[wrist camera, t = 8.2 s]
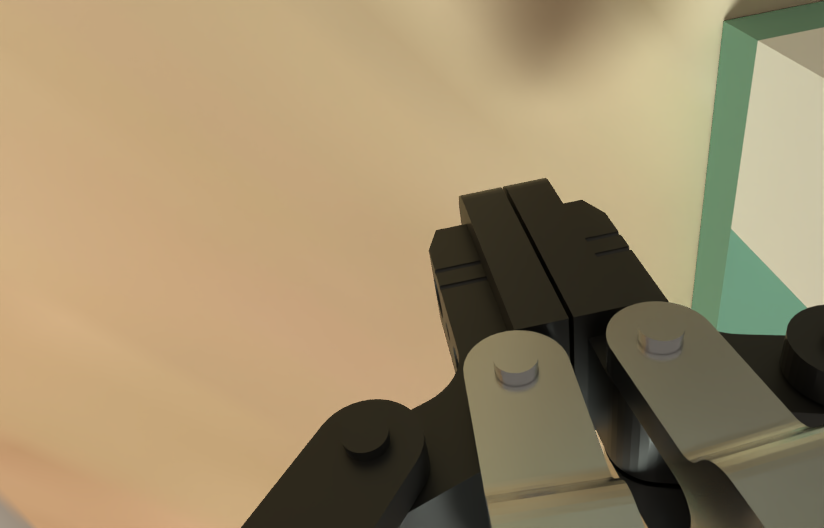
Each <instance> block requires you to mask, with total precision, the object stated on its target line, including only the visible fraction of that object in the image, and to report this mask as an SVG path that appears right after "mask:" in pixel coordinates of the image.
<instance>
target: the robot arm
mask: <svg viewBox="0 0 824 528" xmlns="http://www.w3.org/2000/svg"><path fill="white" fill-rule="evenodd" d="M459 208H460V216H461V223H462V225H459V226H455V227H450V228H445V229H440V230H436V232H435V235H434V238H433V240H432V243H431V246H430V249H429V253H430V259H431V265H432V271H433V277H434V283H435V289H436V295H437V300H438V306H439V312H440V318H441V322H442V325H443V329H444V333H445V336H446V339H447V344H448V347H449V351H450V354H451V357H452V362H453V365H454V369H455V373H456V374H455V376H454V378H453V379H452V381H451V382H450V383H449V385H448V386H447V387H446V388H445V389H444V390H443V391H442V392H441V393H439V394H438V395H437V396H436V397H434V398H432V399H431V400H429V401H427V402H425V403H423V404H422V405H420V406H418V407H416V408H414V409H412V410H410V409H409V408H407V407H406V406H404V405H402V404H399V403H397V402H393V401H389V400H381V399H375V400H366V401H360V402H357V403H354V404H351V405H349V406H347V407H344V408H343V409H341V410H339V411H338V412H336V413H335V414H333V415H332V416H331V417H330V418H329V419H328V420H327V421H326V422H325V423H324V424H323V425H322V426H321V427H320V429H319V430H318V431H317V433H316V434H315V435H314V436H313V438H312V439H311V440H310V441H309V443H308V444H307V445H306V446H305V448H304V449H303V450H302V451H301V453H300V454H299V455H298V456H297V458H296V459H295V460H294V461H293V463H292V464H291V465H290V467H289V468H288V469H287V470H286V472H285V473H284V474H283V475H282V477H281V478H280V479H279V480H278V482H277V483H276V484H275V485H274V487H273V488H272V489H271V490H270V492H269V493H268V494H267V496H266V497H265V498H264V499H263V501H262V502H261V503H260V504H259V506H258V507H257V508H256V509H255V511H254V512H253V513H252V514H251V516H250V517H249V518H248V519H247V521H246V522H245V523H244V525H243V526H242V527H241V528H824V305H817V306H813V307H809V308H807V309H804V310H802V311H800V312H799V313H797V314H796V315H794V317H793V318H792V319H791V320H790V322H789V324H788V326H787V330H786V335H752V334H731V333H724V332H718V331H717V330H716V328H715V327H714V326H713V325H712V324H711V323H710V322H709V321H708V320H707V319H706V318H705V317H704V316H702V315H701V314H699V313H698V312H696V311H694V310H692V309H690V308H688V307H685V306H682V305H679V304H675V303H670V302H668V300H667V299H666V297H665V296H664V295H663V293H662V292H661V290H660V289H659V288H658V286H657V285H656V283H655V282H654V281H653V279H652V278H651V276H650V275H649V274H648V272H647V271H646V269H645V268H644V267H643V265H642V264H641V262H640V261H639V260H638V258H637V257H636V255H635V254H634V253H633V251H632V250H629V246H628V244H627V243H626V241H625V240H624V239H623V237H622V236H621V235H619V234H618V230H617V229H616V227H615V226H614V225H613V223H612V222H611V221H610V219H609V218H608V216H607V215H606V214H605V213H604V212H602V211H601V210H599V209H597V208H595V207H594V206H592V205H590V204H588V203H587V202H585V201H583V200H579V201H574V202H569V203H564V204H563V203H562V201H561V200H560V198H559V196H558V195H557V193H556V192H555V190H554V189H553V187H552V185H551V184H550V182H549V181H548V180H547V179H546V178H543V179H538V180H533V181H528V182H524V183H519V184H514V185H509V186H504V187H503V189H502V188H501V187H500V188H495V189H491V190H486V191H481V192H476V193H471V194H466V195H462V196H459ZM595 430H597V432H598V435H599V437H600V439H601V441H602V443H603V445H604V454H603V451H602V448H601V446H600V443H599V440H598V437H597V435H596V432H595Z"/></svg>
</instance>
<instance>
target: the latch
mask: <svg viewBox="0 0 824 528" xmlns="http://www.w3.org/2000/svg"><path fill="white" fill-rule="evenodd" d="M731 229H732V230H733V231H734V232H735V233H736V234H737V235H738V236H739V237H740V238H741V239H742V241H743V242H744V243H745V244H746V245H747V246H748V247H749V248H750V249H751V250H752V251H753V252H754V253H755V254H756V255H757V256H758V257H759V258H760V259H761V260H762V261H763V262H764V263H765V264H766V265H767V267H768V268H769V269H770V270H771V271H772V272H773V273H774V274H775V275H776V276H777V277H778V278H779V279H780V280H781V281H782V282H783V283H784V284H785V285H786V286H787V287H788V288H789V289H790V290H791V291H792V293H793V294H794V295H795V296H796V297H797V298H798V299H799V300H800V301H801V302H802V303H803V304H804V305H805V306H806V307H807V308H809V307H813V306H817V305H824V27H823V28H818V29H813V30H808V31H803V32H798V33H793V34H788V35H783V36H778V37H773V38H768V39H763V40H758V43H757V50H756V57H755V64H754V71H753V78H752V85H751V92H750V99H749V106H748V113H747V120H746V127H745V134H744V141H743V148H742V155H741V162H740V169H739V176H738V183H737V190H736V197H735V204H734V211H733V218H732V225H731Z"/></svg>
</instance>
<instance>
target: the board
mask: <svg viewBox="0 0 824 528" xmlns="http://www.w3.org/2000/svg"><path fill="white" fill-rule="evenodd" d="M823 27H824V1H821V2H816V3H811V4H806V5H801V6H796V7H791V8H786V9H781V10H776V11H771V12H766V13H761V14H756V15H751V16H746V17H741V18H736V19H731V20H726V21H724V23H723V32H722V41H721V50H720V59H719V68H718V76H717V85H716V94H715V103H714V112H713V121H712V130H711V139H710V148H709V157H708V166H707V175H706V184H705V193H704V202H703V211H702V220H701V229H700V238H699V246H698V255H697V264H696V273H695V282H694V291H693V300H692V310H694V311H696V312H698V313H699V314H701V315H702V316H704V317H705V318H706V319H707V320H708V321H709V322H710V323H711V324H712V325H713V326H714V327H715V328H716V330H717V331H718V332H724V333H731V334H752V335H786V330H787V326H788V324H789V322H790V320H791V319H792V318H793V317H794V315H796V314H797V313H799V312H800V311H802V310H804V309H807V307H806V306H805V305H804V304H803V303H802V302H801V301H800V300H799V299H798V298H797V297H796V296H795V295H794V294H793V293H792V291H791V290H790V289H789V288H788V287H787V286H786V285H785V284H784V283H783V282H782V281H781V280H780V279H779V278H778V277H777V276H776V275H775V274H774V273H773V272H772V271H771V270H770V269H769V268H768V267H767V265H766V264H765V263H764V262H763V261H762V260H761V259H760V258H759V257H758V256H757V255H756V254H755V253H754V252H753V251H752V250H751V249H750V248H749V247H748V246H747V245H746V244H745V243H744V242H743V241H742V239H741V238H740V237H739V236H738V235H737V234H736V233H735V232H734V231H733V230H732V229H731V225H732V218H733V211H734V204H735V197H736V190H737V183H738V176H739V169H740V162H741V155H742V148H743V141H744V134H745V127H746V120H747V113H748V106H749V99H750V92H751V85H752V78H753V71H754V64H755V57H756V50H757V43H758V40H763V39H768V38H773V37H778V36H783V35H788V34H793V33H798V32H803V31H808V30H813V29H818V28H823Z"/></svg>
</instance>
